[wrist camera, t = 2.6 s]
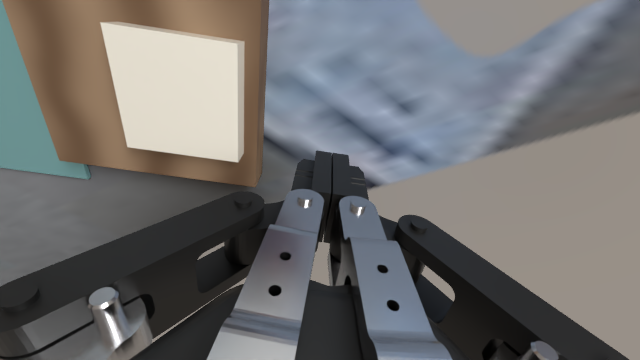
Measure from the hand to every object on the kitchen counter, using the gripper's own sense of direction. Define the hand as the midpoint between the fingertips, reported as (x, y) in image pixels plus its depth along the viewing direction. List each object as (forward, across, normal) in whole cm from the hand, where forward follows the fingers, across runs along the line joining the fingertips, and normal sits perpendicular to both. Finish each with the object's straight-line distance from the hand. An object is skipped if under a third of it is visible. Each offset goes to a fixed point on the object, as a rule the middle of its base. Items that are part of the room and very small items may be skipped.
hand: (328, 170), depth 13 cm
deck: (+11, +13, 0) cm, 17 cm away
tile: (+8, +10, 0) cm, 13 cm away
